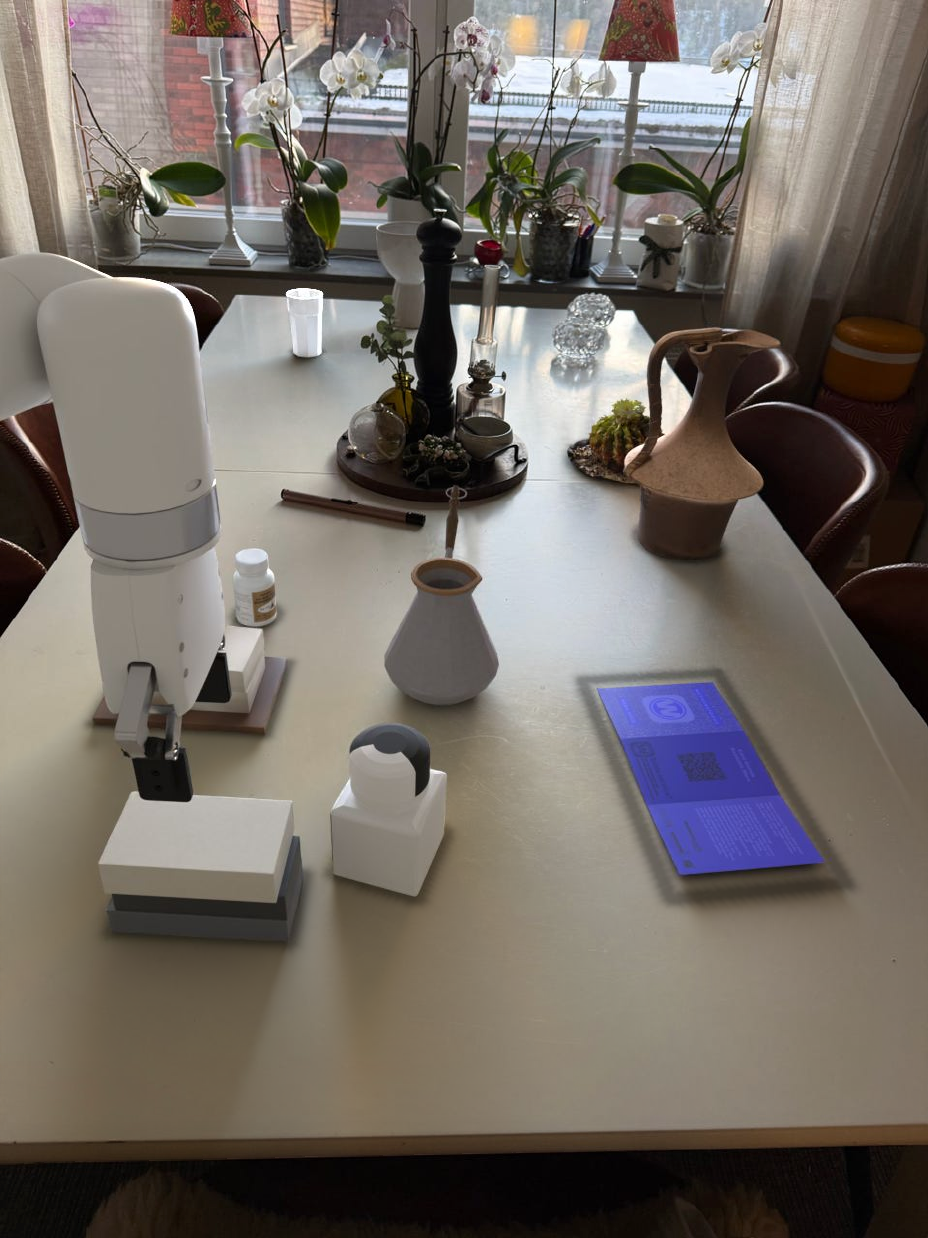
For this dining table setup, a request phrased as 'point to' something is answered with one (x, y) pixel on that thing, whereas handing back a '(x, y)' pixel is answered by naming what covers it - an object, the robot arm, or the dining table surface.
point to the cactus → (612, 441)
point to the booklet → (704, 780)
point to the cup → (305, 321)
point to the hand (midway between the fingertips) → (189, 745)
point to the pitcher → (694, 450)
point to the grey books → (213, 911)
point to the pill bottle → (254, 588)
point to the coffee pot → (443, 630)
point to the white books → (250, 689)
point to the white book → (199, 848)
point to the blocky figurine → (389, 810)
